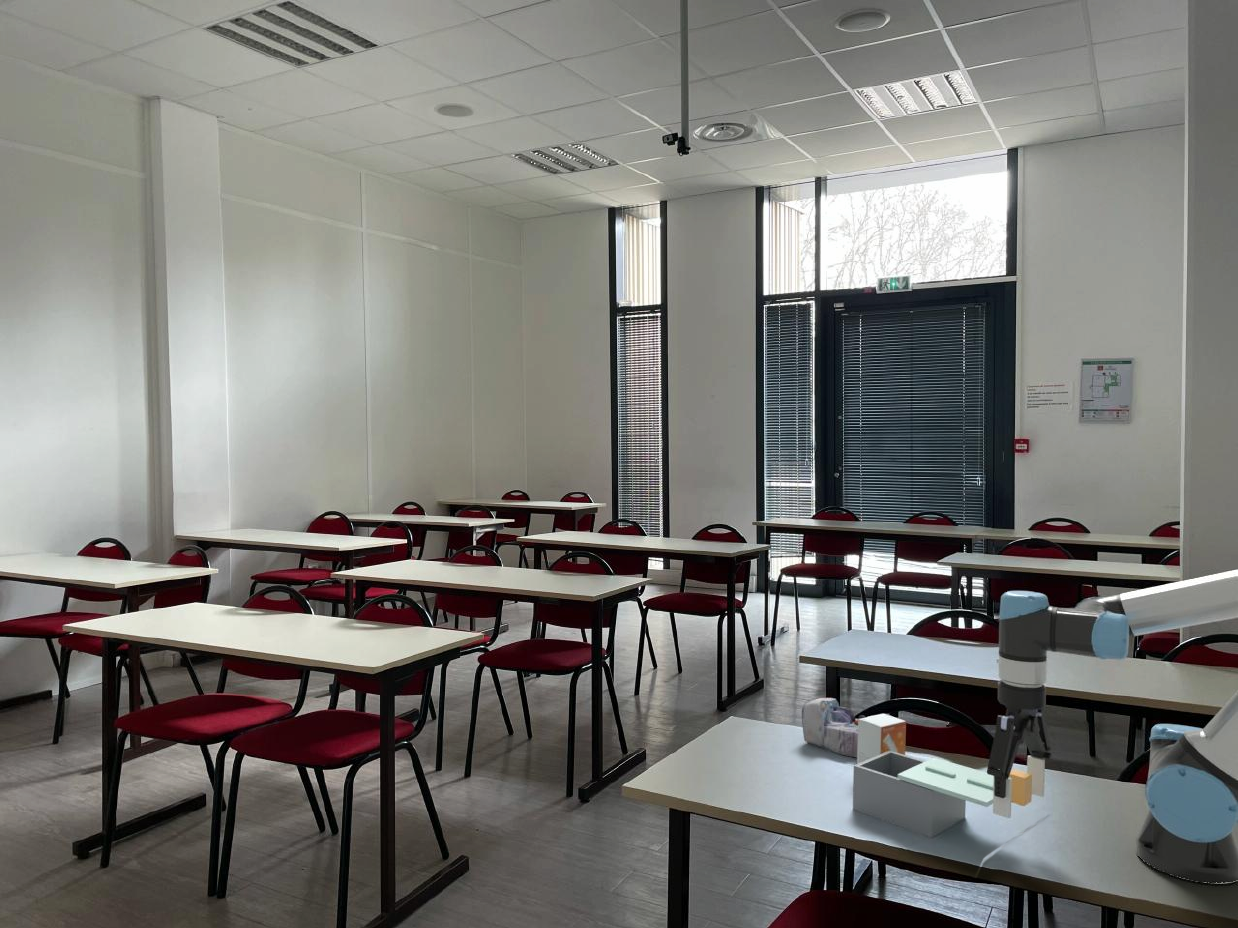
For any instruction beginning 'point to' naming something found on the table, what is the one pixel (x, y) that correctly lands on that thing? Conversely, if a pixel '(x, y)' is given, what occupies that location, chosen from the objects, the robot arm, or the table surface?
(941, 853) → the table surface
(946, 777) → the lid
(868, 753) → the small box
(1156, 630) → the robot arm
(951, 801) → the tub
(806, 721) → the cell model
